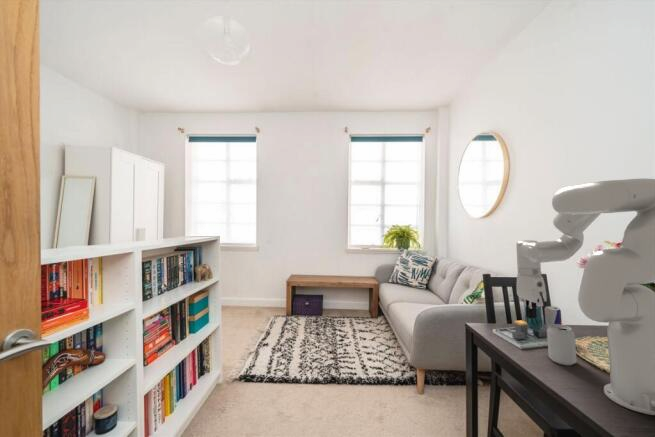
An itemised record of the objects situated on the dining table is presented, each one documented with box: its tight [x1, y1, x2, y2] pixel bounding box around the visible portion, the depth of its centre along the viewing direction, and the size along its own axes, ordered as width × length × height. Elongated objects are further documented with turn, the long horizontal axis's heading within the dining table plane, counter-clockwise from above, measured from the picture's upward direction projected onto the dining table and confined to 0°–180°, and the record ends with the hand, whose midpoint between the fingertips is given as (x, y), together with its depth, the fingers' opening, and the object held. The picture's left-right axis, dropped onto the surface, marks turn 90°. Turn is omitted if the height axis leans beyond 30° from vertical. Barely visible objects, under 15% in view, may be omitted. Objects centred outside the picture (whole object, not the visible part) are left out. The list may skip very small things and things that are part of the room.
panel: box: [492, 326, 548, 350], centre depth 117 cm, size 16×14×4 cm
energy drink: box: [544, 305, 563, 336], centre depth 117 cm, size 5×5×12 cm
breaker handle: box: [514, 320, 528, 336], centre depth 117 cm, size 3×3×5 cm
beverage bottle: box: [523, 305, 544, 330], centre depth 125 cm, size 6×7×20 cm
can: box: [546, 324, 578, 366], centre depth 98 cm, size 8×8×12 cm
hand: (531, 317), depth 112 cm, fingers closed
